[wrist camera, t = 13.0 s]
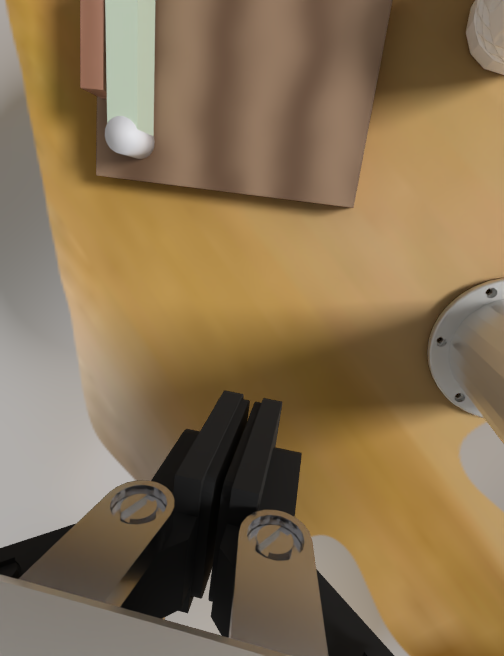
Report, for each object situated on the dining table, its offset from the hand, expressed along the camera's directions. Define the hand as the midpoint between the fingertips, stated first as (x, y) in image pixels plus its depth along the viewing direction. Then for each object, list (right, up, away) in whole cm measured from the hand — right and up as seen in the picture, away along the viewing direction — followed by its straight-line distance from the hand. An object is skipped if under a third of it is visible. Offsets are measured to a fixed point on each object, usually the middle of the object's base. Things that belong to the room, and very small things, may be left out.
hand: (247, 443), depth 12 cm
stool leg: (-9, +25, +20) cm, 33 cm away
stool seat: (-1, +24, +22) cm, 32 cm away
